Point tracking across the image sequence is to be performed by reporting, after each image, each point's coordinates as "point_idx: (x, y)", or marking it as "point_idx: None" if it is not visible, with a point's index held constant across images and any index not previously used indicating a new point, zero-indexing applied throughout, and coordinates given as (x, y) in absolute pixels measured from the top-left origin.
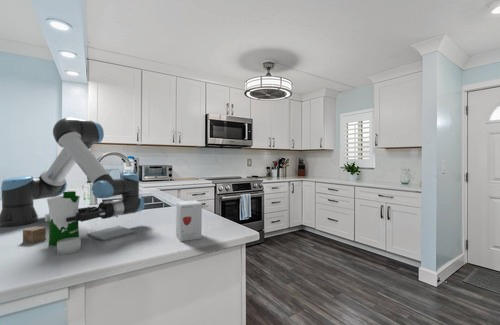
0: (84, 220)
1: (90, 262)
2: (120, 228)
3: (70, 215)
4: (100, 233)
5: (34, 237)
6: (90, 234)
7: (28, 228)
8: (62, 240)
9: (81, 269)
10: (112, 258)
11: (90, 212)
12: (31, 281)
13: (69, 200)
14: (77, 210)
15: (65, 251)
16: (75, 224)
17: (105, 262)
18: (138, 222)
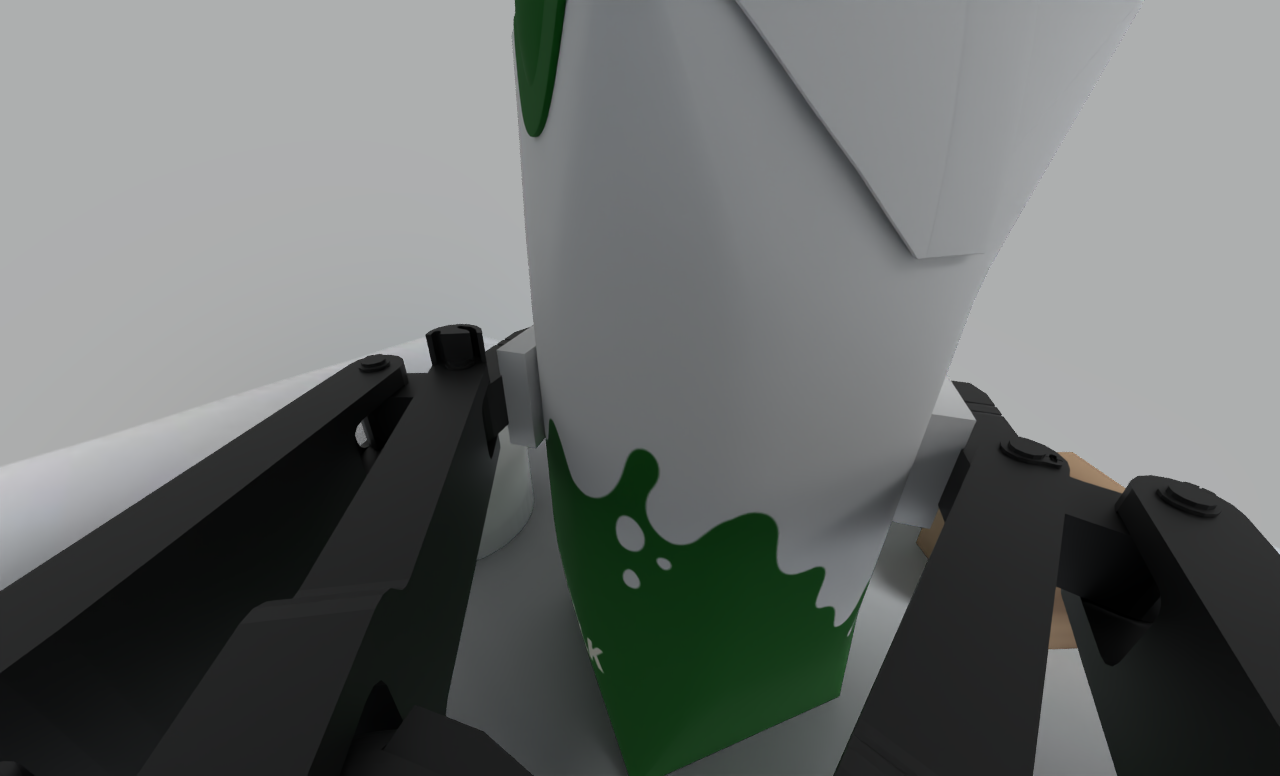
0: (361, 453)
1: (223, 443)
2: None
3: (533, 328)
4: None
5: (940, 520)
6: None
7: (1117, 485)
8: (499, 434)
9: (252, 403)
10: (63, 496)
11: (322, 579)
12: (409, 348)
13: (515, 64)
14: (549, 350)
15: None
16: (554, 512)
17: (120, 457)
18: None
